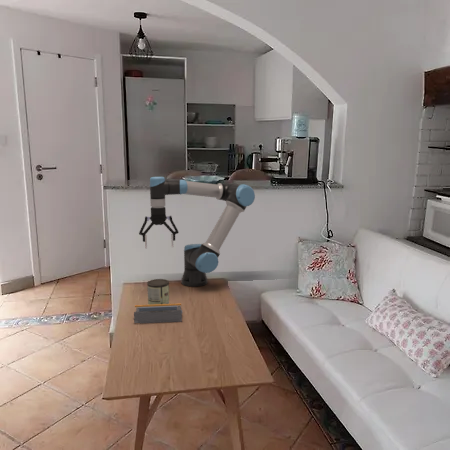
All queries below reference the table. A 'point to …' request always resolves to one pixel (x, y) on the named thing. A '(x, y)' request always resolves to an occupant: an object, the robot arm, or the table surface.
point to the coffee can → (158, 291)
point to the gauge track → (158, 316)
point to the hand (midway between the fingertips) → (159, 247)
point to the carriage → (157, 307)
